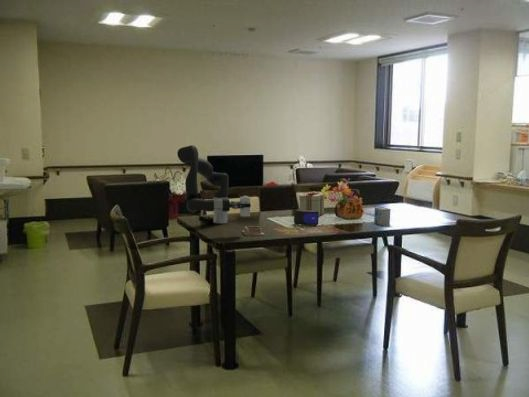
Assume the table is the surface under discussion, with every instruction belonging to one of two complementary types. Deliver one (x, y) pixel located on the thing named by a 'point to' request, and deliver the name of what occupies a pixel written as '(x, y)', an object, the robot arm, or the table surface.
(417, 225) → the table surface
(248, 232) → the chassis board
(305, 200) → the gift box
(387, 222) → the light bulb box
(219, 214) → the robot arm
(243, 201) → the servo block
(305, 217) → the black and blue box
